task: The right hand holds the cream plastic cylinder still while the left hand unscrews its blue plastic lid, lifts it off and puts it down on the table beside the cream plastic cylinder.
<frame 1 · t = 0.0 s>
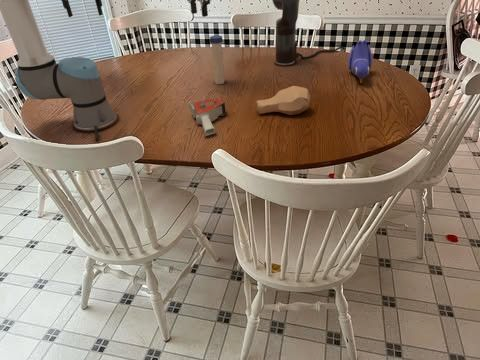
left hand: (85, 15, 157), 28 cm above the table, tool pointing down, fingers open, 13 cm apart
right hand: (199, 14, 140), 29 cm above the table, tool pointing down, fingers open, 8 cm apart
toy: (358, 77, 156), on the table
tape dispenser: (206, 121, 129), on the table
lid: (216, 37, 149), point 19 cm above the table, screwed on, not yet turned
squash: (283, 112, 132), on the table
cream plastic cylinder: (219, 82, 160), on the table
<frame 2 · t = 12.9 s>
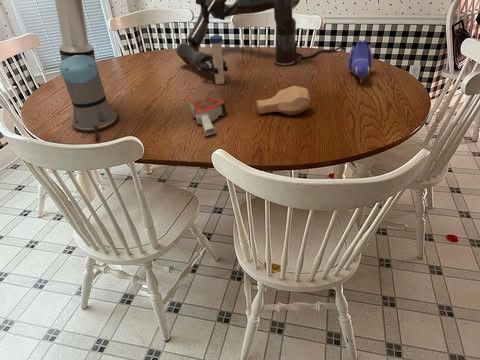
left hand: (214, 21, 145), 26 cm above the table, tool pointing down, fingers open, 7 cm apart
right hand: (222, 70, 155), 6 cm above the table, tool horizontal, fingers closed on cream plastic cylinder, 4 cm apart
cream plastic cylinder: (219, 82, 160), on the table, touching right hand
everything else where it was.
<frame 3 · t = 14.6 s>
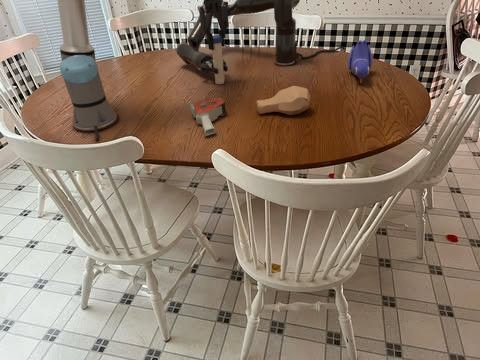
left hand: (216, 47, 151), 15 cm above the table, tool pointing down, fingers closed on lid, 5 cm apart
right hand: (222, 70, 155), 6 cm above the table, tool horizontal, fingers closed on cream plastic cylinder, 4 cm apart
lid: (216, 37, 149), point 19 cm above the table, screwed on, not yet turned, touching left hand
cream plastic cylinder: (219, 82, 160), on the table, touching right hand
everything else where it was.
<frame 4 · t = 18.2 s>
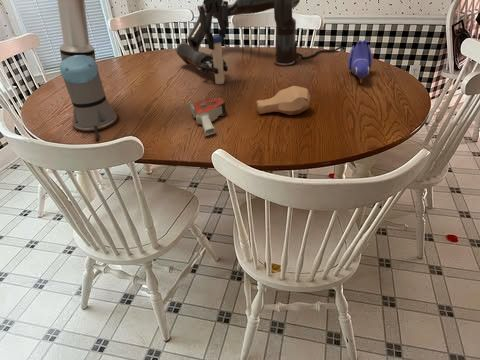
left hand: (216, 47, 151), 15 cm above the table, tool pointing down, fingers closed on lid, 5 cm apart
right hand: (221, 70, 155), 6 cm above the table, tool horizontal, fingers closed on cream plastic cylinder, 4 cm apart
lid: (215, 37, 149), point 19 cm above the table, turned 107° so far, risen 0.2 cm, still on its thread, touching left hand
cream plastic cylinder: (219, 82, 160), on the table, touching right hand
everything else where it was.
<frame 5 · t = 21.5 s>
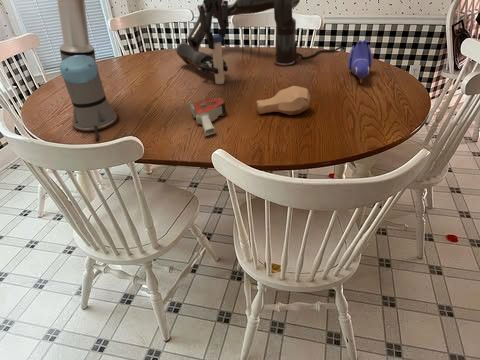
left hand: (216, 46, 151), 16 cm above the table, tool pointing down, fingers closed on lid, 5 cm apart
right hand: (221, 70, 155), 6 cm above the table, tool horizontal, fingers closed on cream plastic cylinder, 4 cm apart
lid: (215, 36, 148), point 20 cm above the table, turned 214° so far, risen 0.3 cm, still on its thread, touching left hand
cream plastic cylinder: (219, 82, 160), on the table, touching right hand
everything else where it was.
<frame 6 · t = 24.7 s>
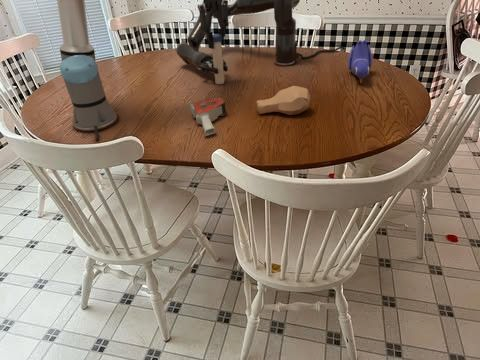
left hand: (216, 46, 151), 16 cm above the table, tool pointing down, fingers closed on lid, 5 cm apart
right hand: (221, 70, 155), 6 cm above the table, tool horizontal, fingers closed on cream plastic cylinder, 4 cm apart
lid: (215, 36, 148), point 20 cm above the table, turned 321° so far, risen 0.5 cm, still on its thread, touching left hand
cream plastic cylinder: (219, 82, 160), on the table, touching right hand
everything else where it was.
when the left hand's fingers open (0 cm above the table, at t = 31.8 s): lid drops 3 cm, point 2 cm above the table.
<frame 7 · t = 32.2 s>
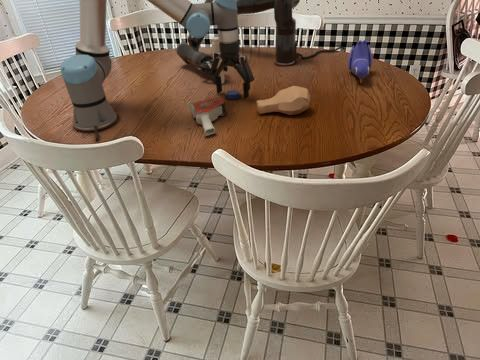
left hand: (232, 95, 145), 1 cm above the table, tool pointing down, fingers open, 13 cm apart
right hand: (221, 70, 155), 6 cm above the table, tool horizontal, fingers closed on cream plastic cylinder, 4 cm apart
lid: (232, 93, 145), point 2 cm above the table, off its thread
cream plastic cylinder: (219, 82, 160), on the table, touching right hand
everything else where it was.
when the right hand's fingers open (6 cm above the table, at t = 32.8 s): cream plastic cylinder stays where it is, on the table.
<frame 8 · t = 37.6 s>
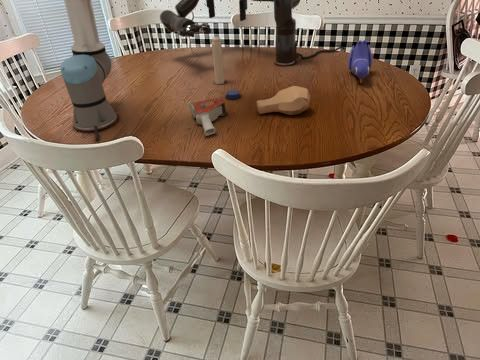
left hand: (227, 18, 128), 30 cm above the table, tool pointing down, fingers open, 13 cm apart
right hand: (201, 32, 157), 19 cm above the table, tool horizontal, fingers open, 8 cm apart
cream plastic cylinder: (219, 82, 160), on the table
everything else where it was.
at the end: lid came off its thread; lid point 1.6 cm above the table; the left hand is holding nothing; the right hand is holding nothing; cream plastic cylinder tilted 0°; cream plastic cylinder moved 0.0 cm from its start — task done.
